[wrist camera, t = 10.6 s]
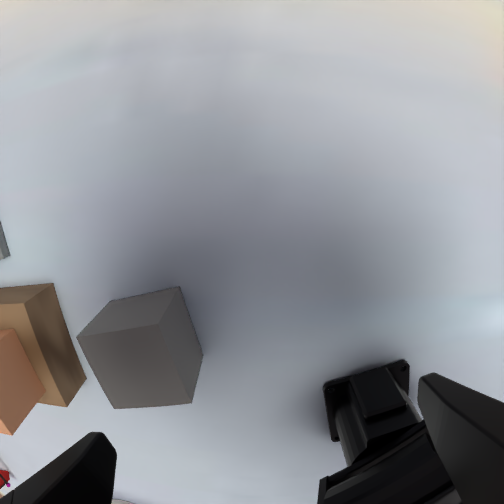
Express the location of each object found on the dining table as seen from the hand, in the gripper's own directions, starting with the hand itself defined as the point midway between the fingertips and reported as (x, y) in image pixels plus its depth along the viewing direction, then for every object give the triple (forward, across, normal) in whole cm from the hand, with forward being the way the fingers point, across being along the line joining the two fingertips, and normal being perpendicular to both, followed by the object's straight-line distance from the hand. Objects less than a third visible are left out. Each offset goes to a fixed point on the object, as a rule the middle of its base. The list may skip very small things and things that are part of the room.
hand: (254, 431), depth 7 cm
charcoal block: (+12, +7, +2) cm, 14 cm away
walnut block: (+12, +18, +1) cm, 22 cm away
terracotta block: (+8, +18, +1) cm, 20 cm away
